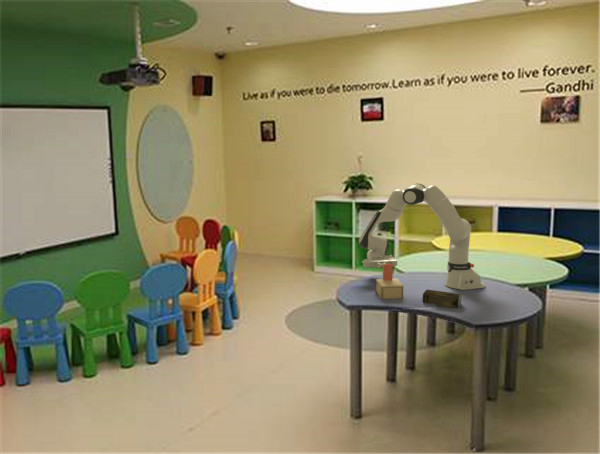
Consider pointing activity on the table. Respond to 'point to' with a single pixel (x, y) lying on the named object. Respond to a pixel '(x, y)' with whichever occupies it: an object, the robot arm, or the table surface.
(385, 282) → the lid
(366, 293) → the table surface
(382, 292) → the mailer box
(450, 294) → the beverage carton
